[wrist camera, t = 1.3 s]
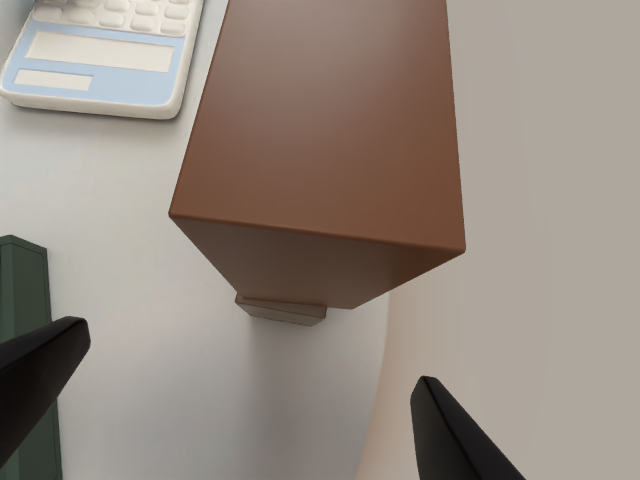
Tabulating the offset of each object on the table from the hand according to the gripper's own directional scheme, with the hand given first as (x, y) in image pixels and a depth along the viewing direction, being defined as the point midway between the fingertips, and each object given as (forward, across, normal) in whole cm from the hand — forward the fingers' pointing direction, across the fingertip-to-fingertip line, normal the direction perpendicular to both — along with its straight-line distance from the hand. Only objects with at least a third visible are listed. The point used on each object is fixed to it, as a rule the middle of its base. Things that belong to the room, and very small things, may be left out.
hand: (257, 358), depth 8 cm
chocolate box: (+10, -1, -1) cm, 10 cm away
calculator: (+27, +19, -8) cm, 34 cm away
